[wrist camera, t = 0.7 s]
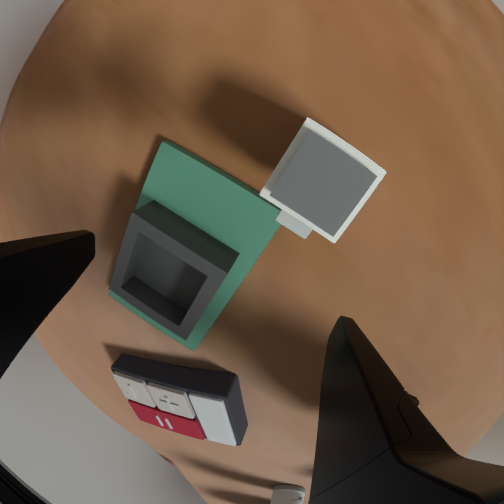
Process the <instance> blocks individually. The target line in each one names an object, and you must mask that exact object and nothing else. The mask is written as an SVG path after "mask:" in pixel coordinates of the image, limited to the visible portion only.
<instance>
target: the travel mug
mask: <svg viewBox="0 0 504 504" xmlns="http://www.w3.org/2000/svg"><path fill="white" fill-rule="evenodd" d="M304 494H305V489H304V488H303V487H300V486H296V485H288V484H284V485H277V486H275V487H274V489H273V494H272V498H271V502H270V504H303V501H304Z"/></svg>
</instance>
